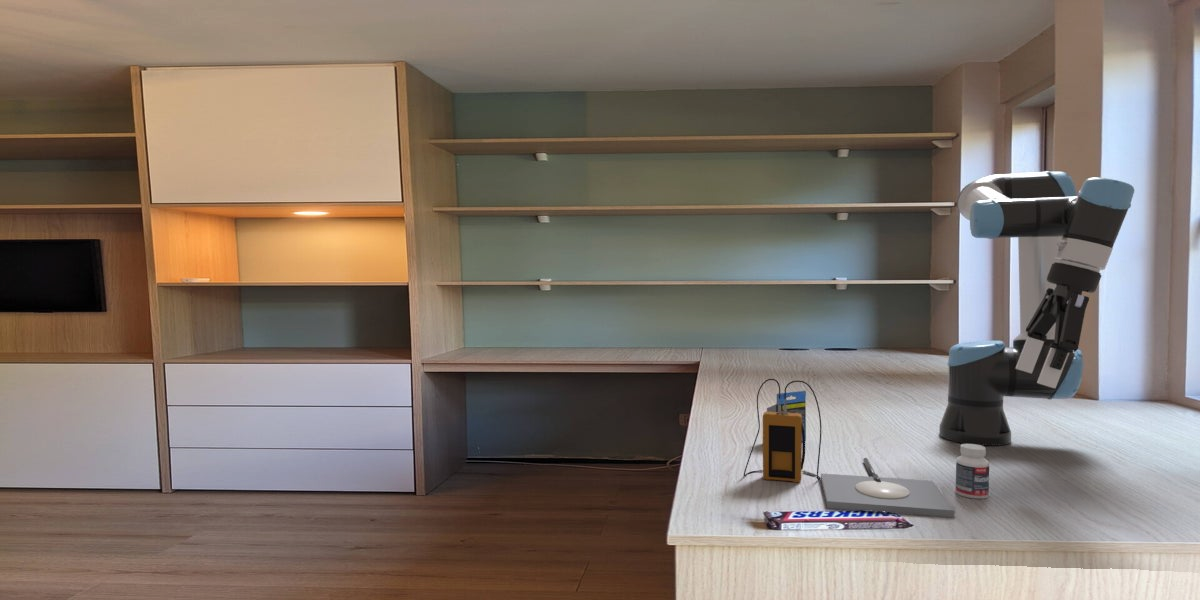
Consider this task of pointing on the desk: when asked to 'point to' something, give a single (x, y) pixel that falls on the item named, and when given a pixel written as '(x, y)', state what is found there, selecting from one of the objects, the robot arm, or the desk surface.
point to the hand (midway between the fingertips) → (1034, 378)
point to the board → (885, 494)
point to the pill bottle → (972, 472)
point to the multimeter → (783, 443)
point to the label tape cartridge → (792, 405)
